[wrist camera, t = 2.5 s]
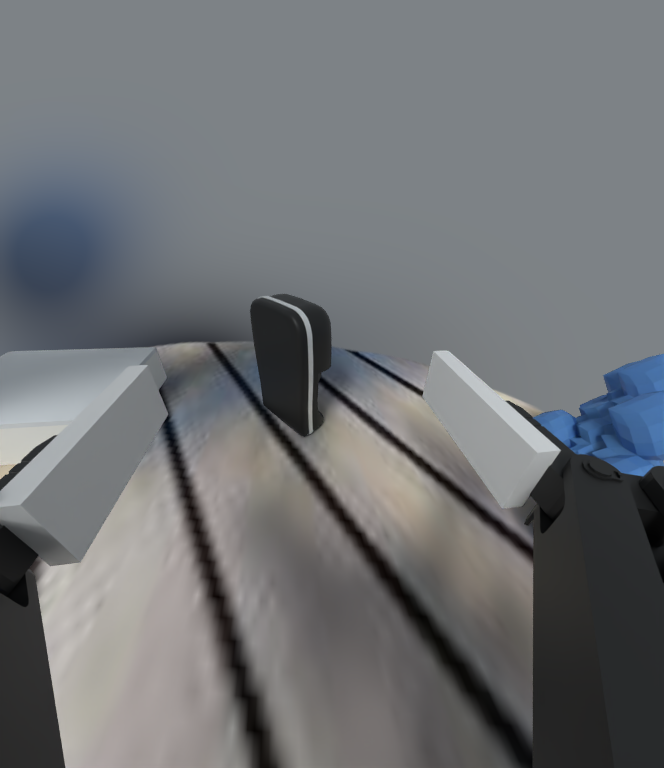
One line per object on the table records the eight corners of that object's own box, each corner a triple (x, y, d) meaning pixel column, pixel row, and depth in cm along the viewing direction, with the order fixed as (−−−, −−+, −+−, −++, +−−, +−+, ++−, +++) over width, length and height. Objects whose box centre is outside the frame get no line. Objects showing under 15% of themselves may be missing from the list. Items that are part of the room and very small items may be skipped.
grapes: (508, 439, 25) (578, 311, 18) (603, 482, 21) (735, 341, 14) (464, 536, 17) (556, 378, 11) (600, 628, 14) (871, 475, 7)
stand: (-96, 472, 20) (-147, 433, 18) (32, 383, 30) (9, 351, 28) (111, 456, 22) (87, 419, 19) (167, 378, 31) (155, 347, 29)
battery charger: (335, 422, 26) (340, 304, 20) (304, 441, 24) (300, 316, 17) (290, 391, 30) (283, 286, 24) (261, 405, 28) (244, 293, 21)
